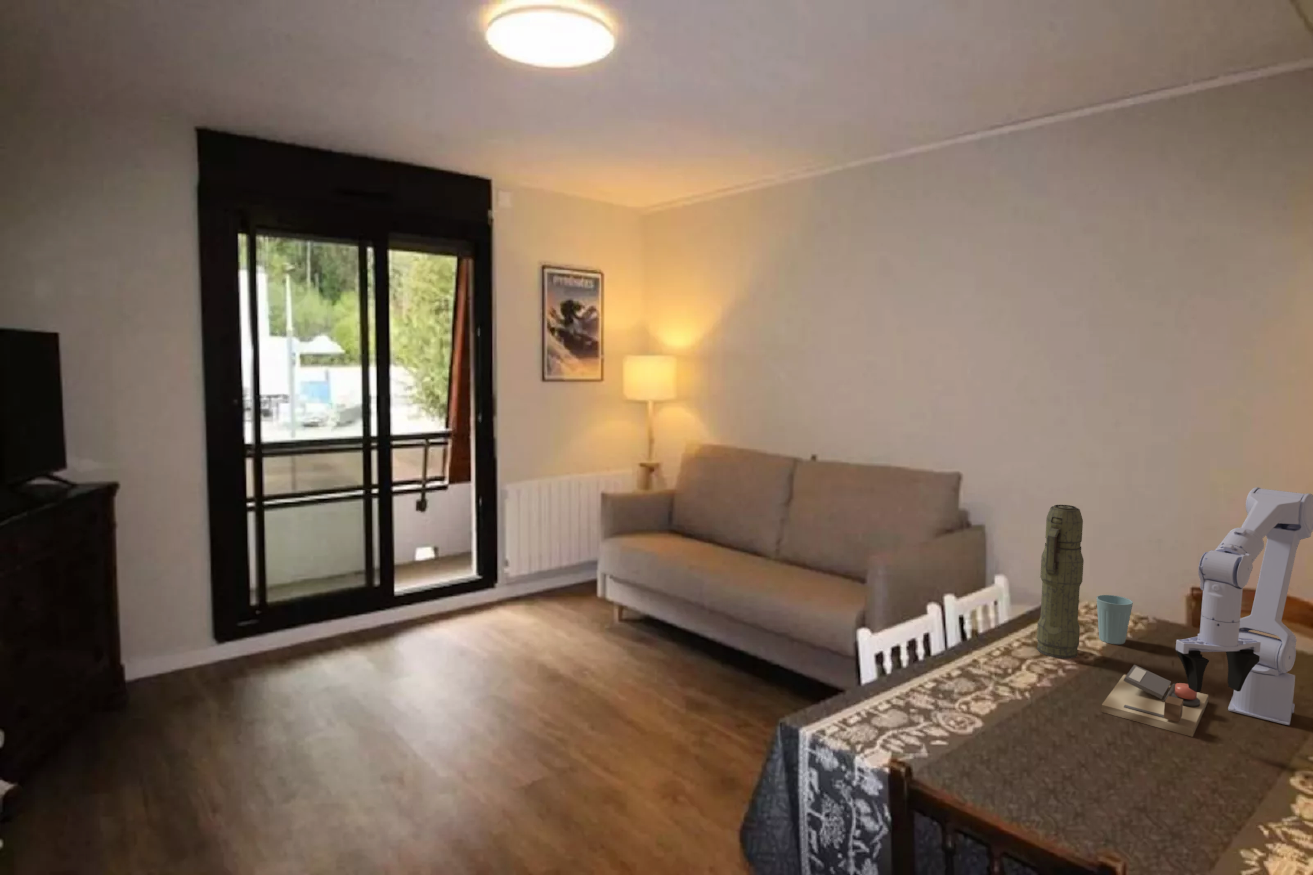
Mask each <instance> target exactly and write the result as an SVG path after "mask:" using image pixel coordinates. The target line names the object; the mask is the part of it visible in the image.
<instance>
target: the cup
mask: <svg viewBox="0 0 1313 875" xmlns="http://www.w3.org/2000/svg"><path fill="white" fill-rule="evenodd" d="M1133 603H1134V602H1133V600H1131V599H1129V598H1128V597H1123V596H1120V595H1112V594H1099V595H1098V596H1096V610H1097V625H1098V639H1099V640H1100V641H1102V642H1104V643H1107V644H1110V645H1111V644H1112V645H1123V644H1125V643H1126V639H1127V634H1128V629H1129V624H1130V619H1131V614H1132V611H1133V610H1132V608H1133Z"/></svg>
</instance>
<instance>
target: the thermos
mask: <svg viewBox="0 0 1313 875" xmlns="http://www.w3.org/2000/svg"><path fill="white" fill-rule="evenodd" d="M1083 524H1084V521H1083V516H1082V512H1081V509H1080V508H1079V507H1077V506H1074V505H1069V504H1055V505H1053V506H1051V507H1050V509H1049V510H1048V512H1047V515H1046V523H1045V540H1046V541H1045V544H1044V549H1043V551H1042V553H1041V560H1040V577H1039V578H1041V583H1042V585H1041V598H1040V599H1041V600H1040V602H1041V603H1040V617H1039V619H1038V621H1037V625H1036V626H1037V627H1036V629H1037V630H1036V641H1037V645H1036V651H1037V652H1039V653H1041V654H1042V655H1045V656H1048V657H1051V658H1058V659H1066V660H1067V659H1068V660H1070V659H1075V658H1077V657H1078V653H1079V652H1078V648H1079V646H1080V634H1081V633H1080V632H1081V628H1080V627H1081V626H1080V624H1079V620H1078V619H1079V606H1080V605H1079V604H1080V589H1081V588H1080V586H1081V585H1082V583H1083V576H1084V563H1085V562H1084V556H1083V552H1082V546H1081V543H1082V542H1083V528H1084V527H1083V526H1084V525H1083Z"/></svg>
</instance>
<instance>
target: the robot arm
mask: <svg viewBox="0 0 1313 875" xmlns="http://www.w3.org/2000/svg"><path fill="white" fill-rule="evenodd" d="M1245 511H1246V513H1247V516H1246V517H1245V520H1244V521H1243V523H1242V524H1241V527H1235V528H1233V529H1231V530H1230V531H1228V533H1227V534H1226V535H1225V537H1224V538H1223V539H1222V541H1221V542H1220V543H1219V544H1218V545H1217V547H1215V549H1214V550H1213V549H1212V550H1209V551H1205V552H1203V554H1202V555H1201V557H1200V559H1199V563H1198V568H1197V570H1198V571H1197V572H1198V577H1199V582H1200V583H1199V588H1200V590H1201V591H1202V597H1201V598H1202V600H1201V611H1200V625H1199V633H1198V632H1197V636H1193V637H1192V636H1191V637H1188V638H1183V639H1175V640H1176V641H1175V643H1176V644H1175V652H1176V654H1177V655H1178V657H1179V660H1180V661H1181V664H1182V666H1183V669H1184V672H1185V675H1186V680H1187V684H1188V686H1189V688H1190V689H1192V690H1193V691H1195V692H1199V693H1201V691H1202V688H1203V681H1204V675H1205V671H1206V669H1207V666H1208V664H1209V662H1210V660H1209V659H1208V658H1206V657H1204V656H1203V654H1201V653H1208V652H1209V653H1214V652H1215V653H1216V652H1217V653H1219V652H1221V653H1222V652H1225V653H1226V658H1227V667H1228V668H1227V685H1228V688H1230V689H1232V690H1233V694H1232V696H1231V698H1230V699H1231V700H1230V702H1229V704H1228V707H1227V709H1228V710H1227V711H1229V712H1232V713H1233V712H1234V713H1237V714H1241V715H1244V716H1249V717H1253V718H1256V719H1261V720H1265V721H1270V722H1273V723H1278V724H1282V725H1286V726H1290V725H1291V720H1292V714H1294V713H1295V706H1296V705H1295V703H1294V694H1295V684H1296V674H1291V673H1288V672H1290V671H1291V670H1292V669H1293V667H1294V664H1295V661H1296V657H1297V656H1296V655H1297V651H1296V650H1297V649H1296V645H1297V637H1296V634H1294V632H1293V631H1292V630H1291V629H1290V628H1288V627H1287V625H1285V624H1284V622H1283V621H1282V619H1283V616H1284V610H1285V606H1286V602H1287V598H1288V597H1287V596H1288V592H1289V587H1290V582H1291V577H1292V572H1293V568H1294V563H1295V559H1296V555H1297V550H1298V547H1299V544H1300V542H1301V540H1304V539H1309V538H1311V537H1312V534H1313V494H1312V493H1308V492H1307V493H1302V492H1293V491H1285V490H1276V489H1269V488H1261V487H1259V486H1258V487H1257V486H1256V487H1253V488H1252V489H1250V491H1249V492H1248V494H1247V496H1246V499H1245ZM1265 537H1266V538H1267V539H1266V544H1265V542H1264V540H1263V539H1264V538H1265ZM1264 547H1265V548H1264ZM1263 550H1264V553H1263V556H1262V562H1261V565H1260V570H1259V577H1258V580H1257V585H1256V589H1255V594H1254V600H1253V603H1252V608H1251V612H1250V615H1246V616H1244V617H1241V613H1242V600H1243V591H1244V590H1243V589H1244V588H1245V587H1246V586H1247V585H1248V583H1249V580H1250V577H1251V573H1252V571H1253V567H1254V565H1253V563H1254V562H1255V561H1256V559H1257V558H1258V557H1259V555H1260V554H1261V552H1262V551H1263ZM1254 631H1257V632H1260V633H1257V632H1254ZM1261 633H1264V634H1261ZM1266 634H1268V635H1266ZM1271 635H1272V636H1271ZM1273 636H1276V637H1273ZM1277 637H1278V638H1277Z"/></svg>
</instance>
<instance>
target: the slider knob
mask: <svg viewBox="0 0 1313 875" xmlns="http://www.w3.org/2000/svg"><path fill="white" fill-rule="evenodd" d="M1182 710H1183V699H1179V698H1175V697H1171V696H1168V697H1167V699H1166V701H1165V706H1164V718H1165V719H1168V720H1172V721H1176V722H1179V721H1180V719H1181V717H1182Z"/></svg>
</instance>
